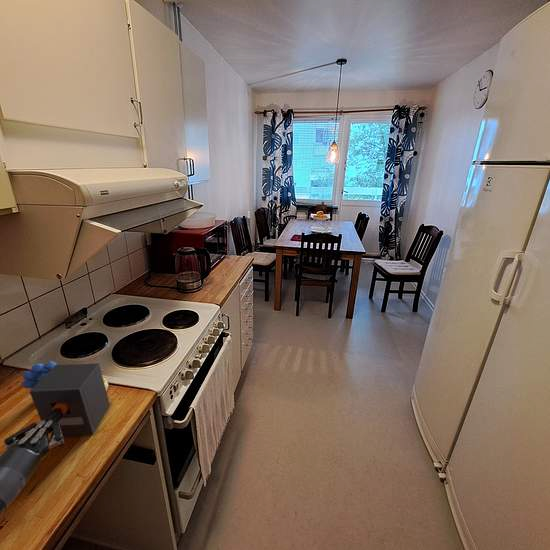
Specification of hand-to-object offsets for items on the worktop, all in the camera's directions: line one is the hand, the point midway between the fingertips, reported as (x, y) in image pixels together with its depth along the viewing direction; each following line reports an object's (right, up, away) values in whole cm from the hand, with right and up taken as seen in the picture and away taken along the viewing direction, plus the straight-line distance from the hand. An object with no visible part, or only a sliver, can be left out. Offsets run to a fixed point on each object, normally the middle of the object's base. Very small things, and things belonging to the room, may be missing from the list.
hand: (58, 411), depth 74 cm
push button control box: (-1, -7, +9) cm, 12 cm away
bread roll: (-3, -3, +19) cm, 20 cm away
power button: (0, -1, +1) cm, 2 cm away
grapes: (-16, -3, +18) cm, 24 cm away
